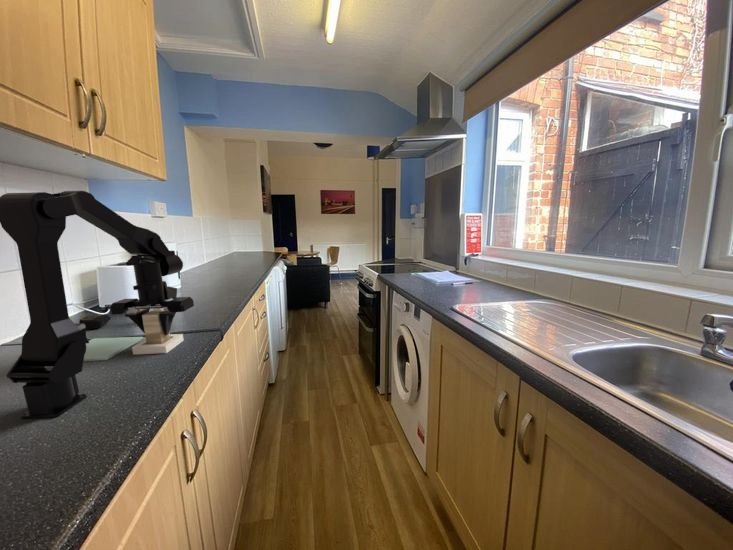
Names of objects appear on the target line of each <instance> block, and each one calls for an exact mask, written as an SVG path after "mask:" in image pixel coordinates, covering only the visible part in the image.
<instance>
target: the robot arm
mask: <svg viewBox="0 0 733 550" xmlns="http://www.w3.org/2000/svg"><path fill="white" fill-rule="evenodd" d="M75 215H76V216H77V217H79V218H81V219H83V220H84V221H86V222H87V223H89V224H91V225H93V226H95V227H96V228H98V229H99V230H101V231H103V232H104V233H107V235H110V236H111V237H113V238H114V239H116V240H117V242H118V244H119V246H120V247H121V248H122V249H123V250H125V251H126V252H127V253H128V254H130V255H131V256H130V258H129V259H128V260H127V261H126V262H125V265H126V266H133V271H134V278H135V283H136V284H135V285H133V286H132V288H133V291H137V296H138V298H124V299H120V300H117V301H115V302H112V303H111V305H110V306H109V311H110V314H111V315H123V314H124V313H125V312H126V314H124V317H125V318H129V319H130V320H131V321H132V322H133V323H134V324H135V325H136V326H137V327H138V328H139V329H140V330H141V332H143V334H144V335H145V331H144V325H143V319H142V315H144V314H146V313H148V312H150V309H151V310H153V309H154V308H163V309H164V312H162V313H160V314H159V317H160V320H161V324H162V328H163V331H164V334H165V335H168V334H169V332H171V327H172V323H173V319H174V318H175V315H176V313H182V312H186V311H187V310H189V309H191V308H193V307H194V306H195V303H194V300H193V298H192V297H191V296H178V295H177V294H178V288H177V287H173V286H168V284H167V282H166V280H163V277H165V276H166V277H167V276H170V275H173V274H177V273H179V272H181V271H182V270H183V267H184V262H183V260H182V259H181V257H180V256H178V255H177V254H176V251H175V250H169V248H168V246H167V245H166V244H165V243H164V241H163V240H162V238H161V236H160V235H159V234H158V233H157V232H154V231H152V230H150V229H149V228H145V227H140V226H137V225H135V224H132V223H131V222H130V221H129V220H127V219H125V218H124V217H122V216H121V215H120V214H119V213H117V212H116V211H114V210H112V209H111V208H109V207H108V206H107V205H105V204H104V203H102V202H100V201H99V200H97V199H96V198H95V196H94V195H93V193H90V192H89V191H86V190H65V191H64V190H63V191H61V192H56V193H49V192H45V191H42V192H41V191H40V192H7V193H4V194H2V195H0V225H1V228H2V229H3V230H4V232H5V233H6V234H7V235H8V236H9V237H10V238H11V239H12V240H13V241H14V242H15V244H16V247H17V251H18V256H19V262H20V268H21V273H22V279H23V285H24V292H25V296H26V297H25V298H26V302H27V303H26V304H27V308H28V314H29V319H30V323H29V326H28V327H27V328H26V330H25V332H24V334H23V336H22V337H21V338H22V339H21V354H20V355H19V356H18V357H17V360H16V361H15V362H14V364H13V365H12V367H11V368H10V369H9V371H8V372H7V374H6V378H7V379H8V380H10V382H11V383H12V384H23V383H24V385H23V386H22V391H23V394H24V395H23V396H24V398H25V402H26V406H27V411H25V412H23V413H22V414H20V415H19V416H20V418H21V419H35V418H37V419H38V418H55V417H58V416H61V415H62V414H64V413H65V412H67V411H68V410H70V408H73V406H75V405H77V404H78V403H79V402H81V401H82V400H84V399H85V398H87V394H86V393H80V391H79V385H78V381H77V377H76V375H78V374H80V373H81V372H82V371H83V365H84V361H83V360H84V354H85V352H86V343H89V341H90V340H89V339H88V337H87V329H86V326H85V324H79V323H75V322H74V321H73V320H72V319H71V318H70V316H69V311H68V304H67V296H66V291H65V285H64V277H63V273H62V264H61V259H60V253H59V245H58V242H59V241H60V238H61V236H62V235H63V233H64V232H65V230H66V226H67V217H71V216H75ZM170 299H171V300H170ZM159 304H160V305H159Z"/></svg>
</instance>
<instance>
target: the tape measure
mask: <svg viewBox="0 0 733 550" xmlns="http://www.w3.org/2000/svg"><path fill="white" fill-rule="evenodd" d="M110 320H111V316H109V314H92V315H87V316H83V317H81V318H80V319H79V320H78V324H85V326H86V330H92V329H98V327H99V328H101V327H103V326H105V325H106V324H108V323H109V322H110Z"/></svg>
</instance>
